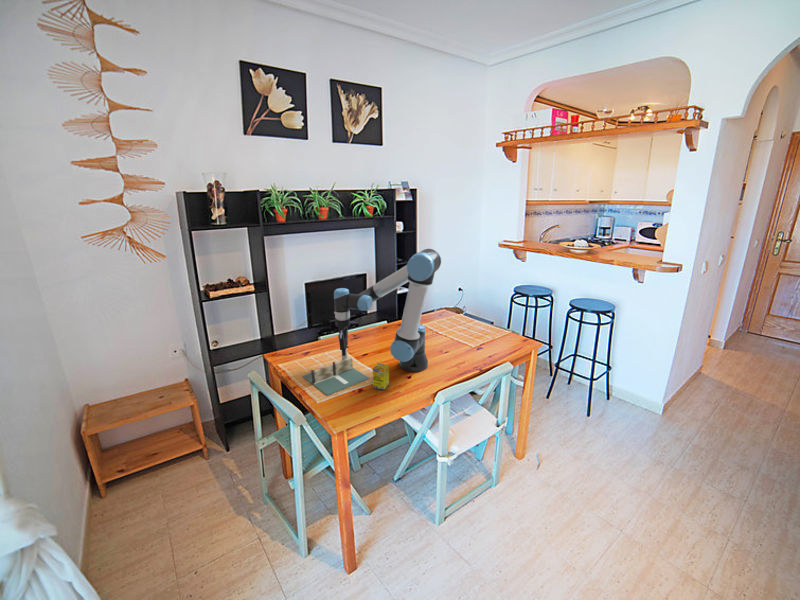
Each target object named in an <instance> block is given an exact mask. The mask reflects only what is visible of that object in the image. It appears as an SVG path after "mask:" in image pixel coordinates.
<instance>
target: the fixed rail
mask: <svg viewBox="0 0 800 600" xmlns="http://www.w3.org/2000/svg"><path fill="white" fill-rule="evenodd" d="M332 365H333V364H329V365H326V366H323V367H321V368H318V369H315V370H314V369H311V370H310V373H311V374H312V383H311V385H313V384H314V383H317V382H320V381H322V380H325V379H328V378H330V377H333V366H332Z"/></svg>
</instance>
